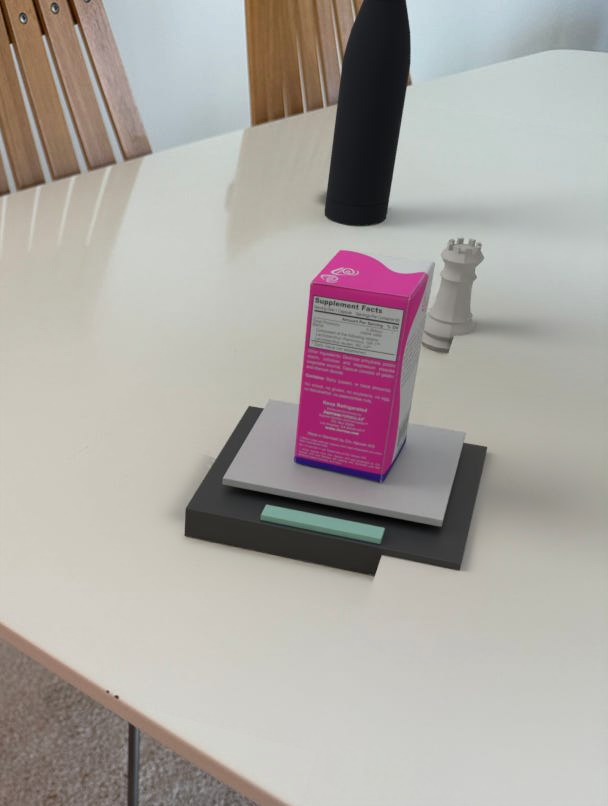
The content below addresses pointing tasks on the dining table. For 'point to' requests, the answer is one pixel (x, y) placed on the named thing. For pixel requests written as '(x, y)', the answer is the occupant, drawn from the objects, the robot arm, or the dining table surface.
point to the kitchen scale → (337, 498)
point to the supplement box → (361, 362)
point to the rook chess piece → (453, 296)
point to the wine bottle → (369, 113)
